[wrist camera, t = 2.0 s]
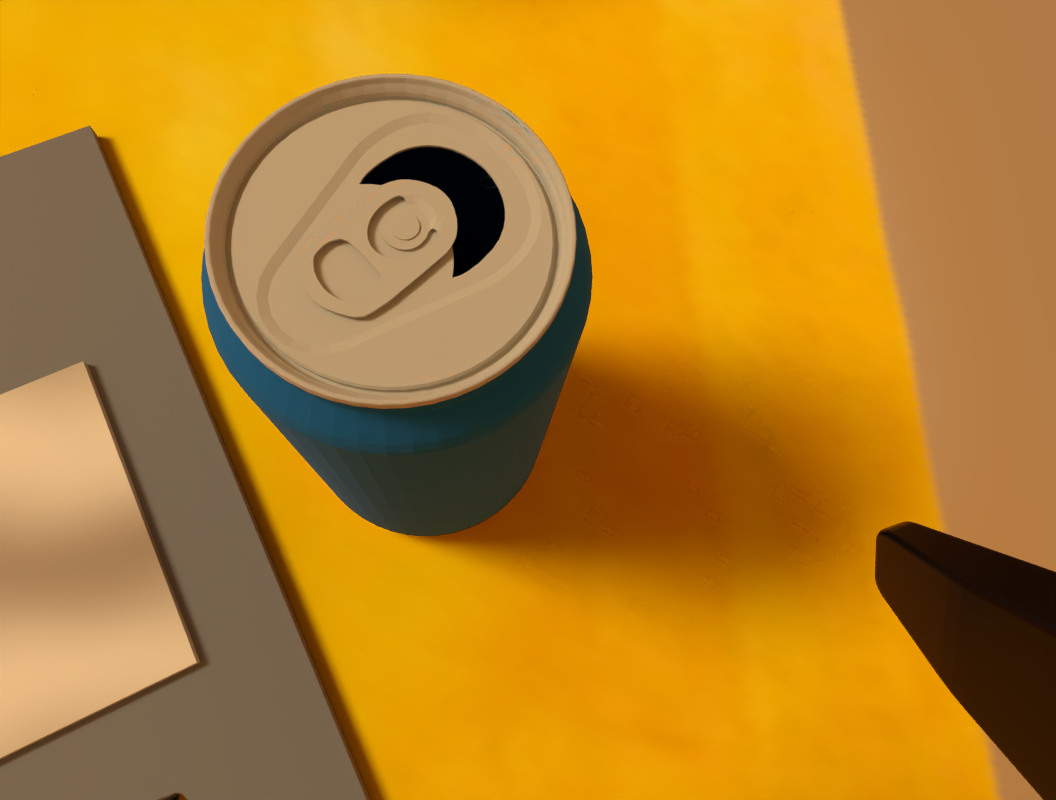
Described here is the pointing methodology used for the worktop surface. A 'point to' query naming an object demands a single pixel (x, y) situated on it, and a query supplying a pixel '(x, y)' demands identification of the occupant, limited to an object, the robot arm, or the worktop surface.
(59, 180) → the mat
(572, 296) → the beverage can
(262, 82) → the worktop surface
